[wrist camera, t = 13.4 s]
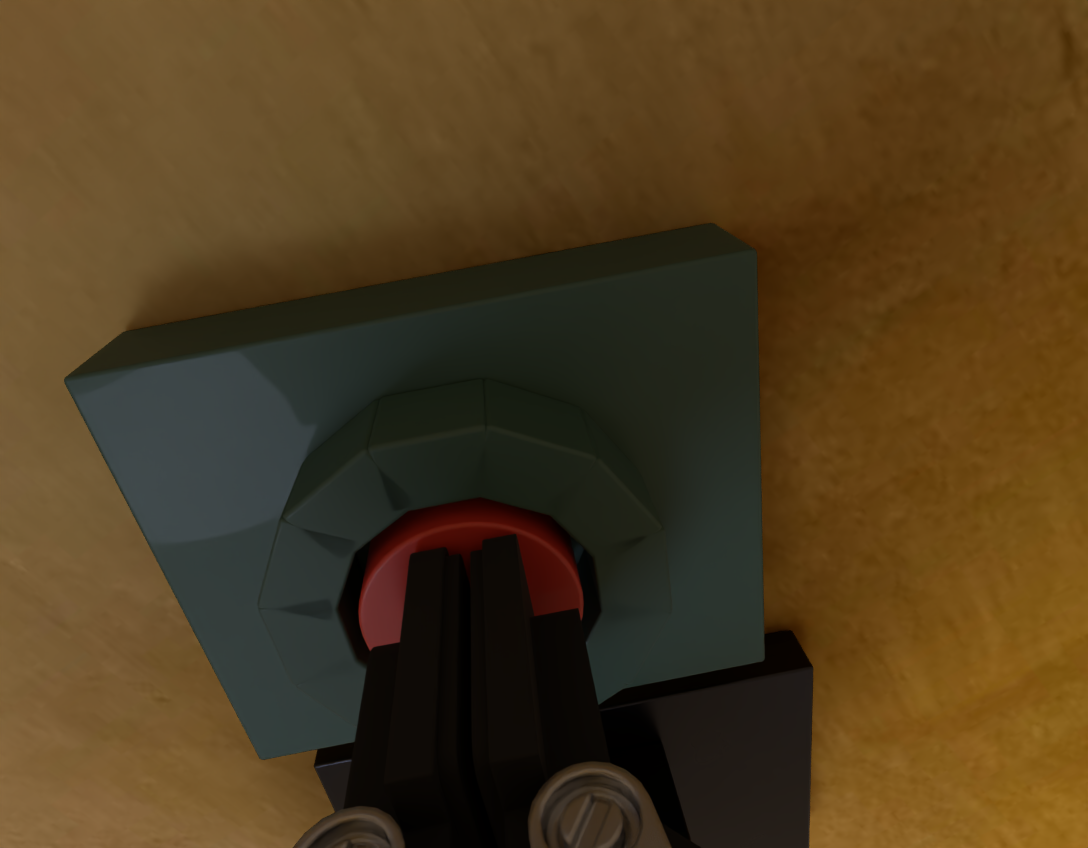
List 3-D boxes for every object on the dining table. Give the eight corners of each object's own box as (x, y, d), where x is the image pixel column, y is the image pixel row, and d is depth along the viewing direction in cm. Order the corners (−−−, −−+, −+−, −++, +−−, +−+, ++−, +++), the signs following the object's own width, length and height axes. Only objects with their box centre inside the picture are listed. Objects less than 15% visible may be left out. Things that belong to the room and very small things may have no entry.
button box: (282, 682, 17) (235, 845, 13) (120, 331, 13) (-10, 432, 9) (731, 594, 17) (801, 731, 14) (714, 221, 13) (809, 279, 10)
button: (398, 642, 14) (390, 716, 12) (345, 487, 12) (328, 549, 10) (582, 606, 14) (597, 675, 12) (553, 446, 12) (567, 503, 11)
